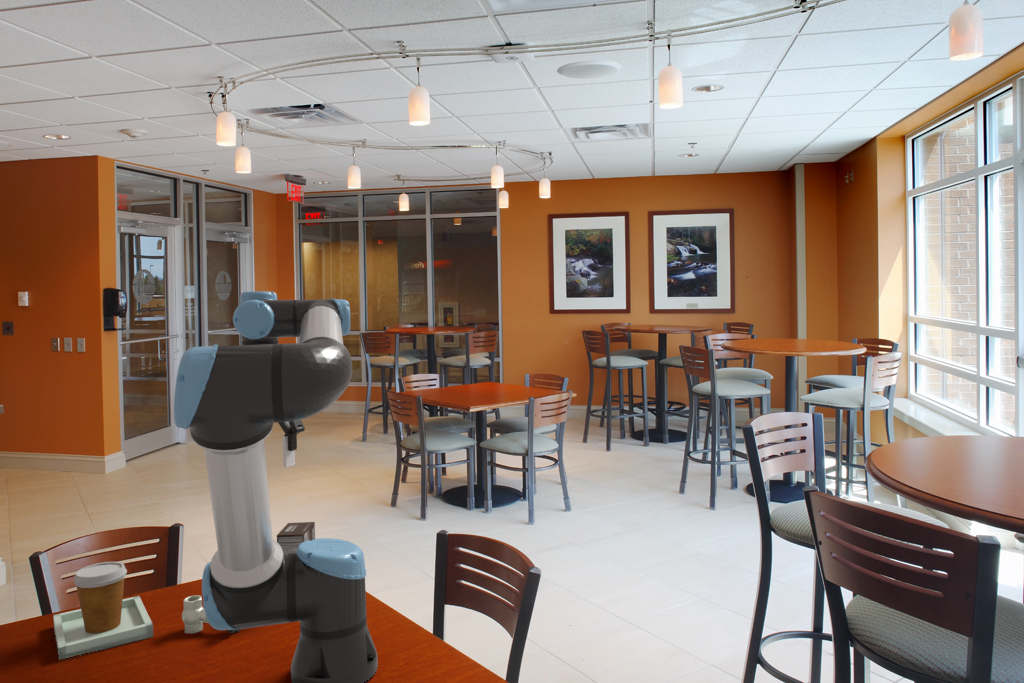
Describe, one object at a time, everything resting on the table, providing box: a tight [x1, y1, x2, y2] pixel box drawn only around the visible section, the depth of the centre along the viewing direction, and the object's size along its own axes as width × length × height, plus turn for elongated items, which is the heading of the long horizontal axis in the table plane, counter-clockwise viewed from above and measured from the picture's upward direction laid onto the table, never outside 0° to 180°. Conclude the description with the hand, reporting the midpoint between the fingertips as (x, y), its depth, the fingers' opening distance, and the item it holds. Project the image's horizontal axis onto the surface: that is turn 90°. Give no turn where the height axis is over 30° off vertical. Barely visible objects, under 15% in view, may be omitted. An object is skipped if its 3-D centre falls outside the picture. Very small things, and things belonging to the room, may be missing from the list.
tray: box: [52, 595, 154, 661], centre depth 144 cm, size 18×16×2 cm
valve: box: [181, 594, 241, 634], centre depth 143 cm, size 7×7×12 cm
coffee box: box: [276, 521, 316, 554], centre depth 159 cm, size 9×6×16 cm
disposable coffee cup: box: [72, 561, 128, 633], centre depth 144 cm, size 10×10×12 cm
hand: (264, 463), depth 149 cm, fingers open, 13 cm apart
